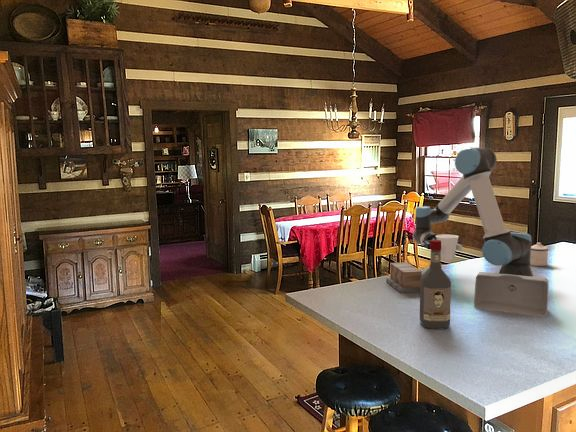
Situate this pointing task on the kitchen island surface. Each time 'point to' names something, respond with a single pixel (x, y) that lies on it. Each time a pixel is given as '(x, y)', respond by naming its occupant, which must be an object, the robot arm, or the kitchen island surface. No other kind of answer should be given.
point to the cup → (448, 246)
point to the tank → (511, 293)
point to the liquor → (435, 292)
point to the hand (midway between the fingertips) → (451, 248)
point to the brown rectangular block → (404, 277)
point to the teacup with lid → (539, 255)
